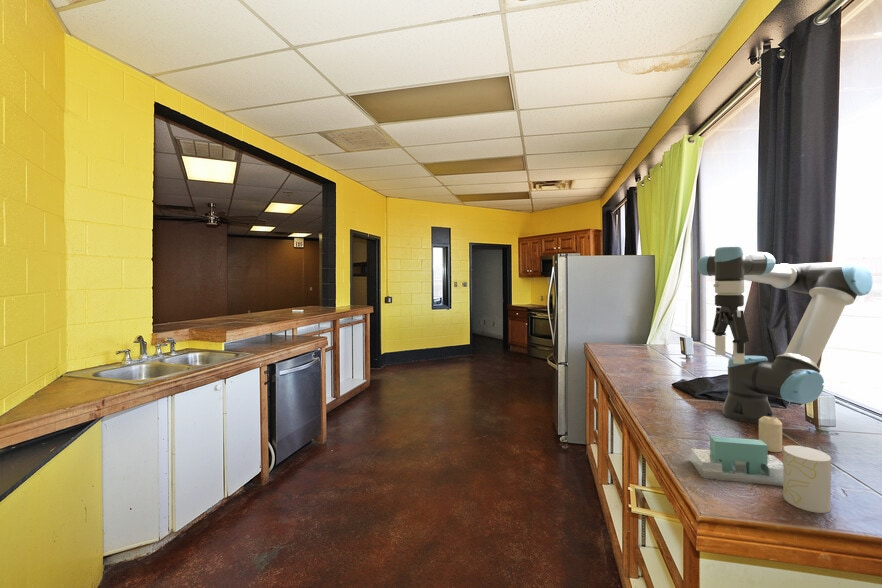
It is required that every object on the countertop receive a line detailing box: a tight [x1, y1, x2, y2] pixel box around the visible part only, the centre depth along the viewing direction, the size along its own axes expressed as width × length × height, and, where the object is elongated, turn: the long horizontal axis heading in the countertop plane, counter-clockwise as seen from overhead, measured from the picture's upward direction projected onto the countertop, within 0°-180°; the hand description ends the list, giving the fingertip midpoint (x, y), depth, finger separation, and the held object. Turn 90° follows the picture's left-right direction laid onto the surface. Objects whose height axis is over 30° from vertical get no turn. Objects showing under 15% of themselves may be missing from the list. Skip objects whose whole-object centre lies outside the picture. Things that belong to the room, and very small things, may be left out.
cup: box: [782, 445, 832, 514], centre depth 91 cm, size 8×8×12 cm
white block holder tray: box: [689, 448, 783, 487], centre depth 105 cm, size 20×10×4 cm, turn 74°
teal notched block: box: [709, 435, 769, 474], centre depth 105 cm, size 12×4×8 cm, turn 74°
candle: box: [758, 416, 783, 453], centre depth 118 cm, size 6×6×10 cm
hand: (729, 359), depth 125 cm, fingers open, 13 cm apart
